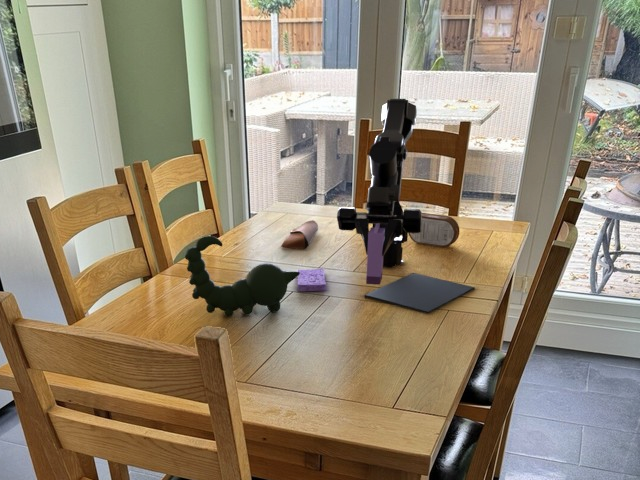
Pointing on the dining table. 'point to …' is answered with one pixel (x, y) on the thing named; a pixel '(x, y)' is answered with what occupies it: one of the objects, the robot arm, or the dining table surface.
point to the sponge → (311, 280)
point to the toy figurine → (237, 284)
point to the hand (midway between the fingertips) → (374, 254)
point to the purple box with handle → (375, 255)
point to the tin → (436, 231)
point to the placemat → (420, 292)
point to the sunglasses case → (301, 236)
